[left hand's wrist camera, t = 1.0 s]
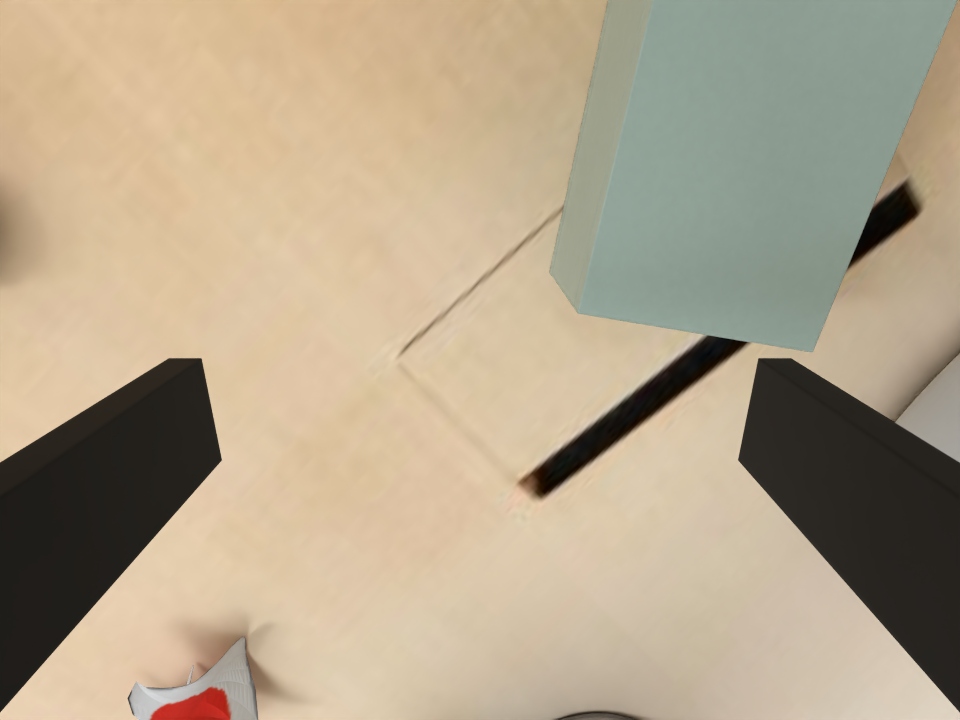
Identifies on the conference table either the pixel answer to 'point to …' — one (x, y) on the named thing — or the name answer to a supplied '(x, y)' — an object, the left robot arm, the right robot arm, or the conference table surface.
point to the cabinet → (736, 158)
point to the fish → (203, 693)
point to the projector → (938, 412)
